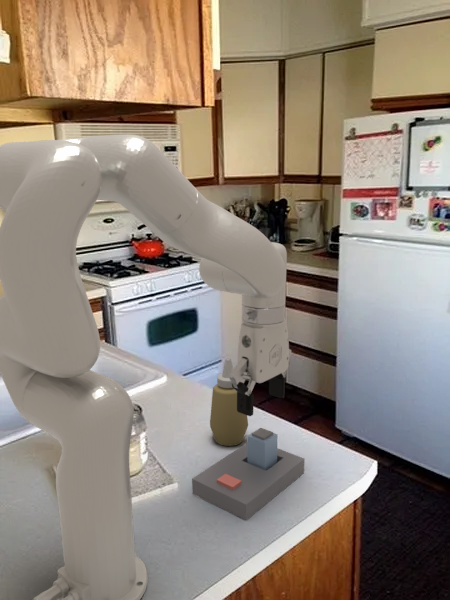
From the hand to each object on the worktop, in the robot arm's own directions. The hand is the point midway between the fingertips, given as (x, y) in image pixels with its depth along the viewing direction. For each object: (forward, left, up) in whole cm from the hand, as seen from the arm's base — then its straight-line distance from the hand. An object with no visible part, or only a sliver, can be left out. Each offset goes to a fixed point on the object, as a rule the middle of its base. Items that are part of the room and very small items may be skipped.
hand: (261, 404), depth 100 cm
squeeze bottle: (+7, +13, -15) cm, 21 cm away
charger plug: (0, 0, -14) cm, 14 cm away
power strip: (-3, 0, -14) cm, 15 cm away
